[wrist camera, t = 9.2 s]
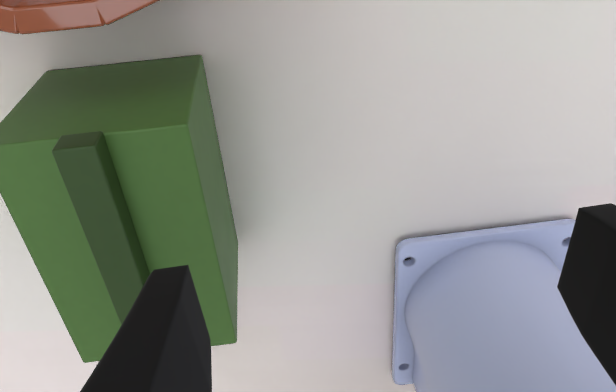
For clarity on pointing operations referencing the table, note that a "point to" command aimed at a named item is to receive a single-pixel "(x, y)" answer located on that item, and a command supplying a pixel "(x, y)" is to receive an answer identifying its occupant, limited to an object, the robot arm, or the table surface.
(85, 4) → the bowl
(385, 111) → the table surface
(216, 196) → the green block
